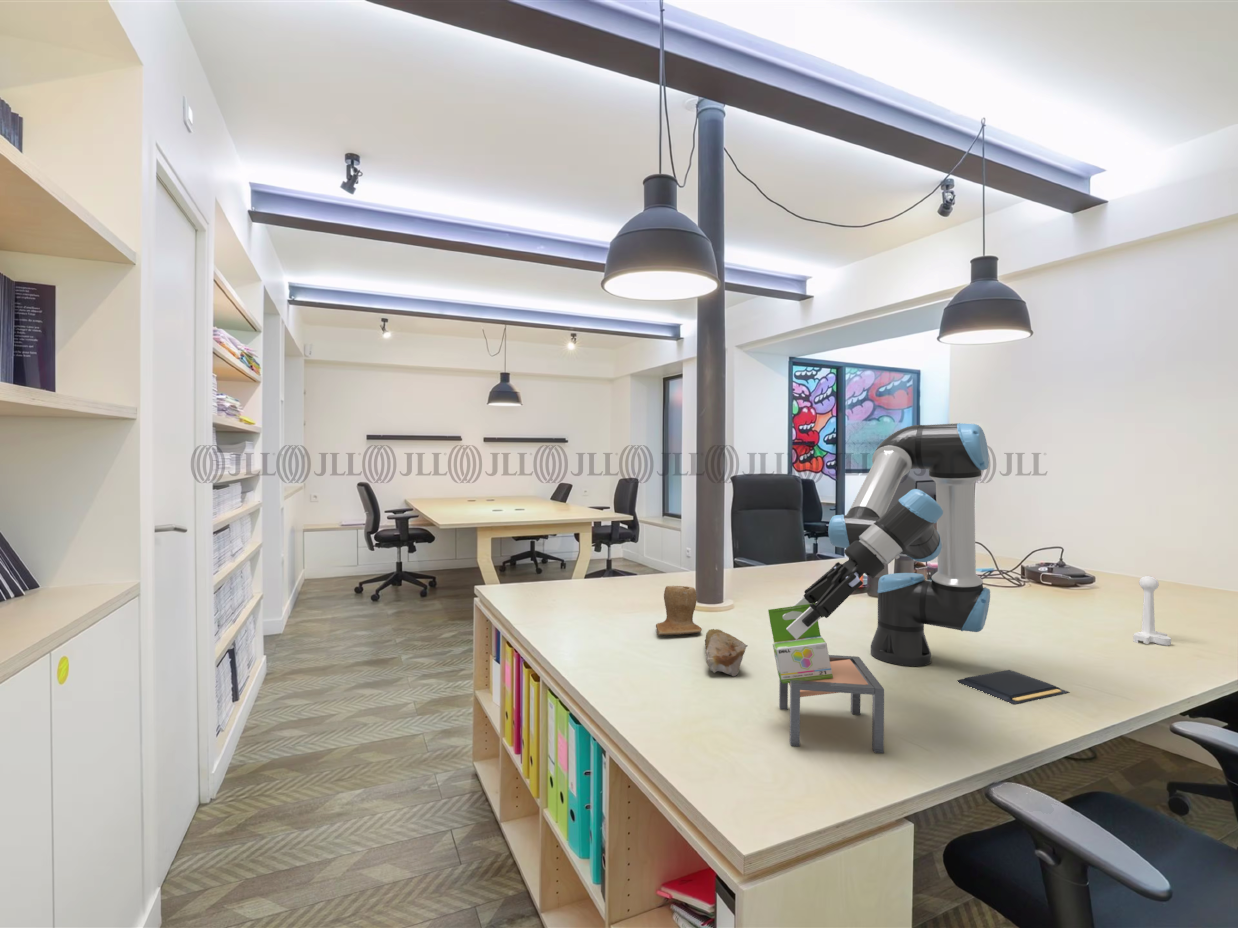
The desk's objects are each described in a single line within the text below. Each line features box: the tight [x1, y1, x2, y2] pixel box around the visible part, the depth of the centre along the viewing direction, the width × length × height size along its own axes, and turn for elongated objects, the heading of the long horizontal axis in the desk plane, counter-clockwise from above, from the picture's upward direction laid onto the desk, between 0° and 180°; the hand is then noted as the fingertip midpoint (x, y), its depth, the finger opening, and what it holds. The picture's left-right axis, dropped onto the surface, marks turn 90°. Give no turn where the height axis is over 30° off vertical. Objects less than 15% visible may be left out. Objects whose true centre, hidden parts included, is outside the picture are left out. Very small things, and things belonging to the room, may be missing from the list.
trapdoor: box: [788, 659, 868, 698], centre depth 116 cm, size 14×14×1 cm
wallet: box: [957, 669, 1071, 706], centre depth 139 cm, size 20×2×15 cm
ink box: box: [767, 603, 833, 684], centre depth 118 cm, size 10×5×14 cm, turn 82°
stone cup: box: [655, 585, 703, 636], centre depth 181 cm, size 15×12×15 cm
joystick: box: [1132, 575, 1172, 647], centre depth 174 cm, size 11×8×20 cm
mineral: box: [704, 628, 748, 677], centre depth 156 cm, size 26×9×10 cm
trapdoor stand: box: [778, 654, 885, 754], centre depth 116 cm, size 17×18×12 cm
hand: (788, 627), depth 118 cm, fingers open, 8 cm apart
